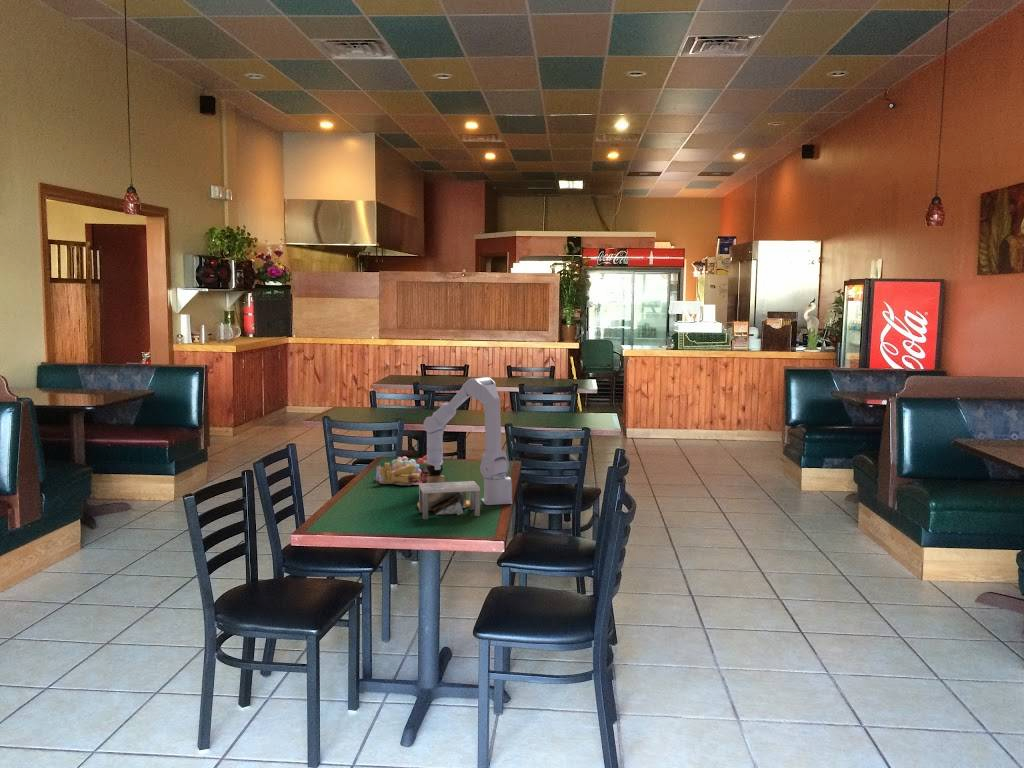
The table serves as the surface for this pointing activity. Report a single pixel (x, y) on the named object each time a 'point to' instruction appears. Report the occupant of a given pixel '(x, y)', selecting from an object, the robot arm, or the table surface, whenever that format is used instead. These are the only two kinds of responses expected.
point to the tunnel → (449, 487)
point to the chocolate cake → (448, 504)
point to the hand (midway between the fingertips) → (434, 485)
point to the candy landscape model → (403, 472)
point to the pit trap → (466, 504)
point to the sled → (436, 496)
